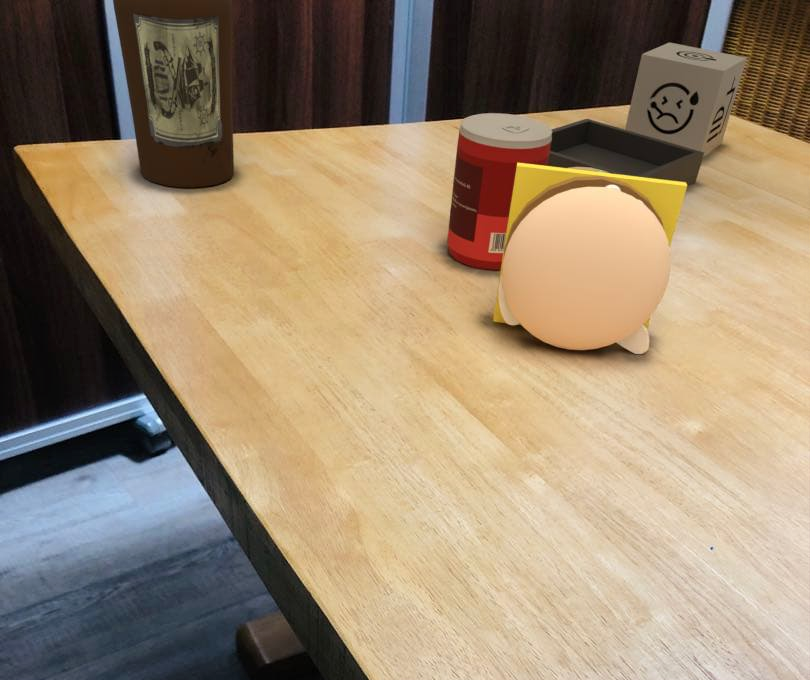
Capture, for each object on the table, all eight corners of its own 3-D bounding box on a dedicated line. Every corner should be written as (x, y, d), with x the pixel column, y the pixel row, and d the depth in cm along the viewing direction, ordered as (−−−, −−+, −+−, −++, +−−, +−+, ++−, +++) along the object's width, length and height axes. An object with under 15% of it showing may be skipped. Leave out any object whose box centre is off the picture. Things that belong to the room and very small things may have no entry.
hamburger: (489, 353, 65) (514, 191, 57) (494, 305, 71) (518, 152, 63) (649, 373, 64) (697, 212, 56) (640, 323, 71) (682, 172, 63)
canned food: (545, 253, 80) (568, 127, 73) (503, 279, 75) (524, 147, 68) (474, 230, 83) (490, 107, 76) (429, 254, 78) (442, 124, 71)
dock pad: (695, 182, 100) (704, 152, 97) (629, 213, 90) (636, 180, 88) (581, 146, 107) (586, 118, 104) (508, 172, 97) (512, 141, 95)
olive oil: (133, 156, 92) (95, -143, 75) (233, 155, 94) (218, -134, 78) (136, 192, 84) (95, -132, 68) (246, 190, 87) (232, -122, 70)
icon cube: (721, 143, 112) (747, 57, 106) (698, 161, 106) (724, 71, 99) (648, 126, 116) (669, 42, 109) (621, 142, 109) (642, 54, 103)
